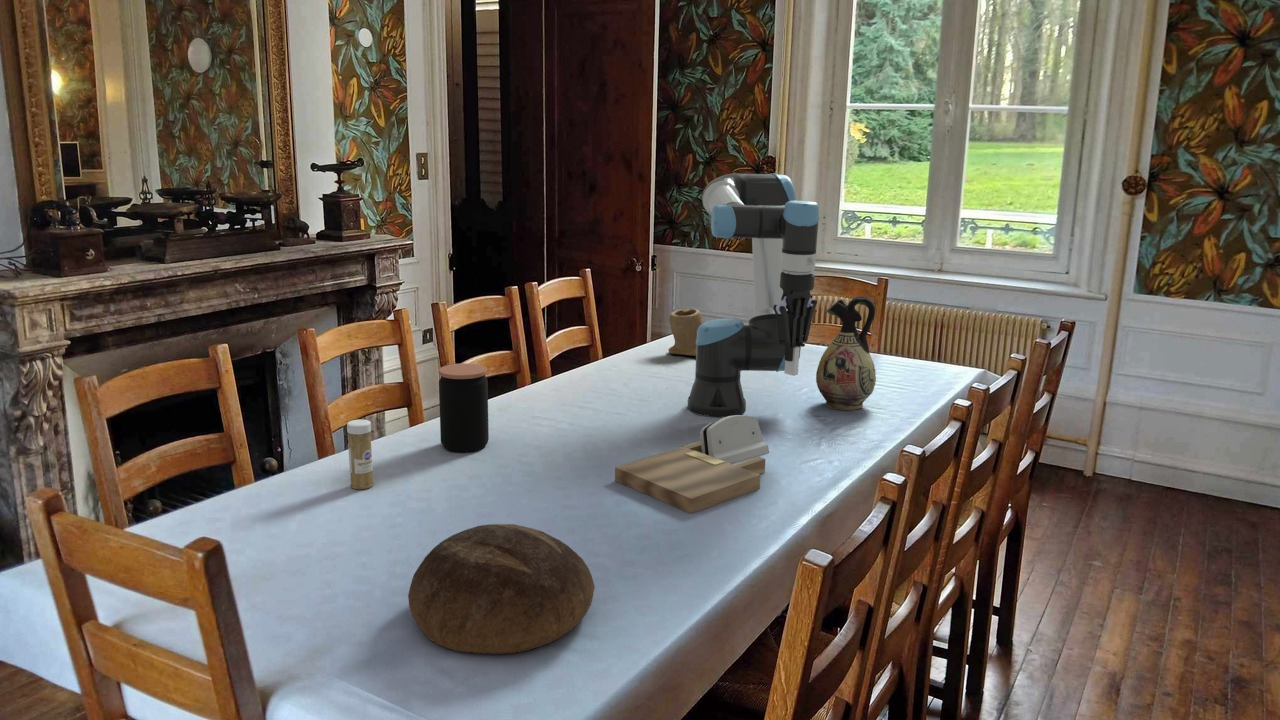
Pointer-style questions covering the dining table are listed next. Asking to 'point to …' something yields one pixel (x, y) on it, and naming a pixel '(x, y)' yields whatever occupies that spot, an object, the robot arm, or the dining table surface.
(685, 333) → the stone cup
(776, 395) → the dining table surface
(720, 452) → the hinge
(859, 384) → the ceramic jug
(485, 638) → the bread
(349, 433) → the sprinkles bottle
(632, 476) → the brown flat wooden slab
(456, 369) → the coffee jar
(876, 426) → the dining table surface
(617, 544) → the dining table surface
